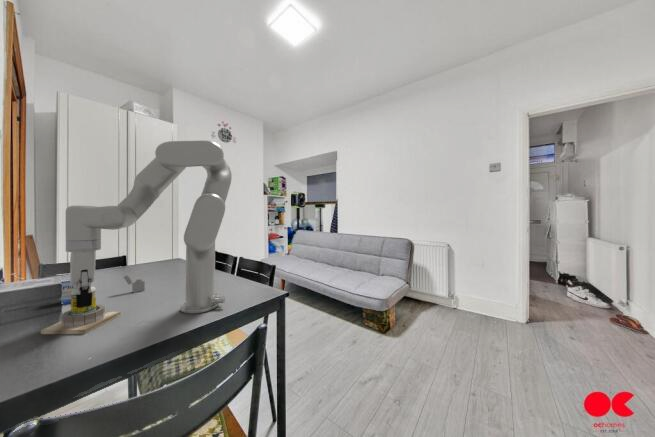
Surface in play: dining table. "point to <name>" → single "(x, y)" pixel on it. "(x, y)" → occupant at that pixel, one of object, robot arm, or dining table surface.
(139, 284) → the lighter
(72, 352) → the dining table surface
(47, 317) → the dining table surface
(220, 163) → the robot arm
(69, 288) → the medicine box
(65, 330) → the collar block
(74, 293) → the supplement bottle
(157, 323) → the dining table surface
